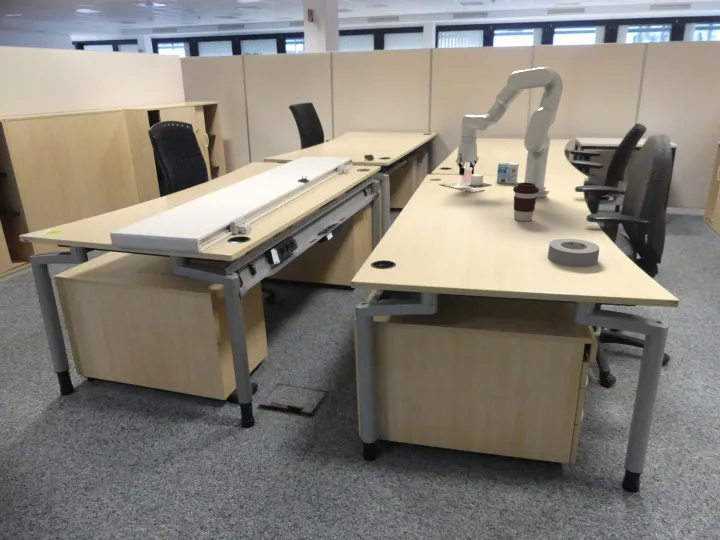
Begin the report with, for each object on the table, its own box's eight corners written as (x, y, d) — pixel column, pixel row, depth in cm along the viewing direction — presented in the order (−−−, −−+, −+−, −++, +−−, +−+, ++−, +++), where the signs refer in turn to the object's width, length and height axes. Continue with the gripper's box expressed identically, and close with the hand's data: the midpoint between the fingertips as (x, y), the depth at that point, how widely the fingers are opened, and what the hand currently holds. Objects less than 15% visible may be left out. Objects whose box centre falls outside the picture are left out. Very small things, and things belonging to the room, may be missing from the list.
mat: (491, 185, 293) (491, 184, 293) (475, 187, 287) (475, 187, 287) (476, 182, 302) (476, 181, 302) (460, 184, 296) (460, 183, 296)
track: (484, 190, 280) (484, 189, 280) (472, 192, 275) (472, 191, 275) (451, 183, 300) (451, 182, 300) (438, 184, 296) (438, 184, 296)
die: (482, 184, 294) (483, 175, 292) (476, 185, 291) (476, 176, 289) (475, 183, 298) (476, 173, 296) (469, 184, 295) (470, 174, 293)
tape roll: (587, 271, 165) (589, 255, 163) (539, 260, 174) (541, 246, 172) (604, 259, 175) (606, 244, 174) (558, 249, 185) (560, 235, 183)
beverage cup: (470, 183, 287) (471, 157, 283) (472, 185, 282) (474, 158, 277) (458, 183, 287) (460, 157, 282) (461, 185, 282) (462, 159, 277)
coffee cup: (522, 223, 217) (526, 187, 212) (505, 218, 225) (508, 183, 220) (540, 220, 221) (544, 184, 216) (523, 215, 229) (526, 180, 224)
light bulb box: (496, 182, 301) (497, 163, 297) (498, 180, 307) (499, 161, 303) (515, 183, 297) (517, 164, 293) (517, 181, 303) (519, 162, 299)
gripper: (475, 138, 284) (473, 172, 290) (451, 140, 275) (449, 175, 281) (485, 139, 278) (483, 173, 284) (461, 141, 269) (459, 177, 275)
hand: (466, 174), depth 283 cm, fingers closed on beverage cup, 6 cm apart
